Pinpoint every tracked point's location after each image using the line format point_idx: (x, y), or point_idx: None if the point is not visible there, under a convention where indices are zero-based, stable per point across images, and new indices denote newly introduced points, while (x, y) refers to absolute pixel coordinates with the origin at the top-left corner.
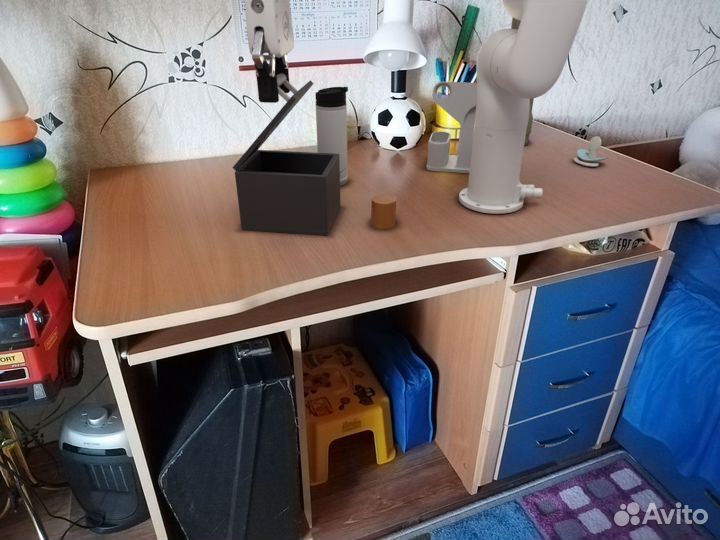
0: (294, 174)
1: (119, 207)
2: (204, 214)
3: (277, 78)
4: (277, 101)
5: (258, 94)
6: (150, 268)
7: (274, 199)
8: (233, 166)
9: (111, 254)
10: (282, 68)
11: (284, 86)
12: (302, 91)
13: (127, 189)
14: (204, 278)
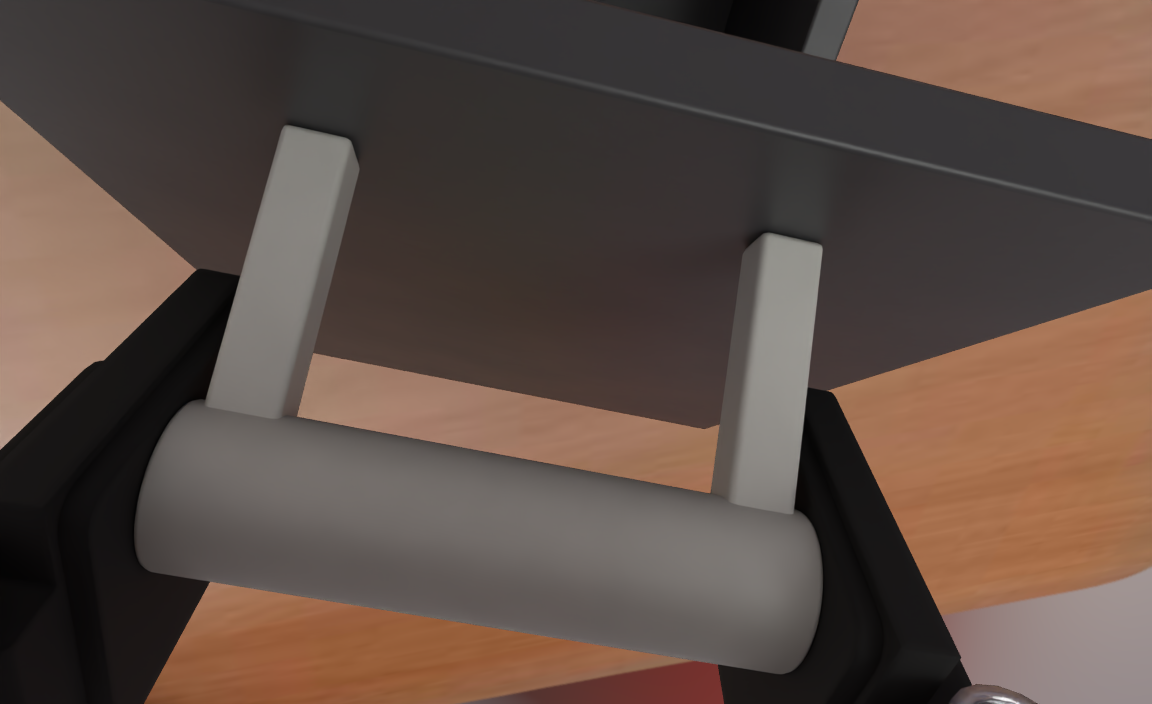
0: (825, 50)
1: (442, 648)
2: (506, 411)
3: (600, 579)
4: (828, 395)
5: None
6: (909, 492)
7: None
8: (708, 427)
9: None
10: (48, 596)
11: None
12: (756, 64)
13: (286, 660)
14: (1037, 338)
